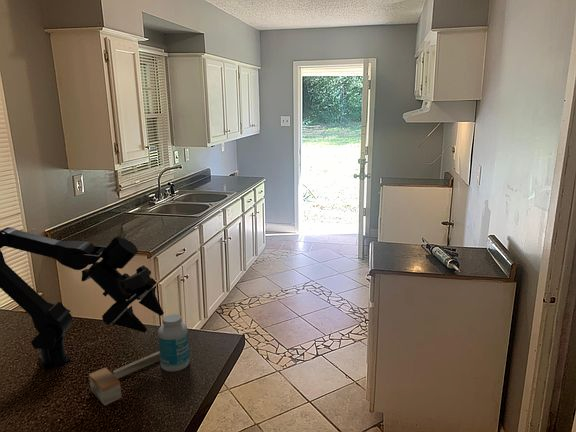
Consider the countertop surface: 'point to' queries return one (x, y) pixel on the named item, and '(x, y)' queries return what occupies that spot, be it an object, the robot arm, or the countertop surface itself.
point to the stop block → (105, 386)
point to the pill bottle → (173, 343)
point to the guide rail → (136, 365)
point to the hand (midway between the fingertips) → (154, 322)
